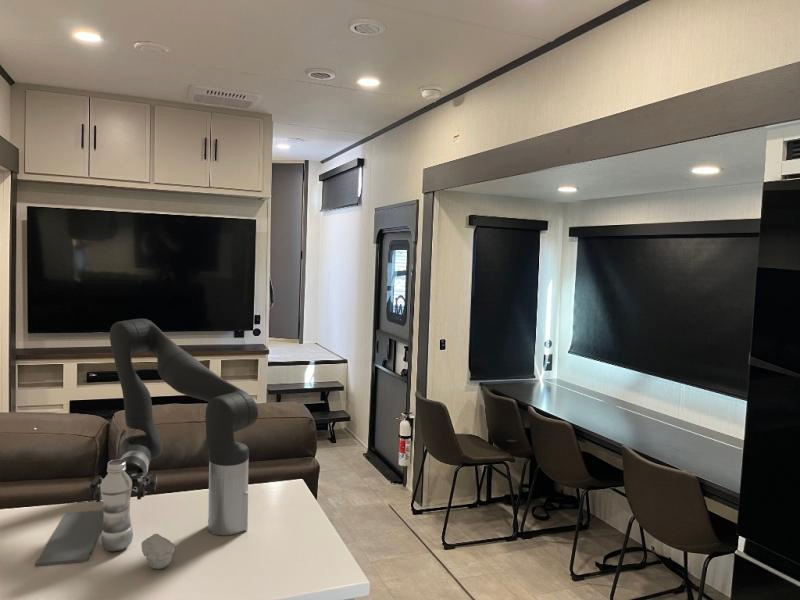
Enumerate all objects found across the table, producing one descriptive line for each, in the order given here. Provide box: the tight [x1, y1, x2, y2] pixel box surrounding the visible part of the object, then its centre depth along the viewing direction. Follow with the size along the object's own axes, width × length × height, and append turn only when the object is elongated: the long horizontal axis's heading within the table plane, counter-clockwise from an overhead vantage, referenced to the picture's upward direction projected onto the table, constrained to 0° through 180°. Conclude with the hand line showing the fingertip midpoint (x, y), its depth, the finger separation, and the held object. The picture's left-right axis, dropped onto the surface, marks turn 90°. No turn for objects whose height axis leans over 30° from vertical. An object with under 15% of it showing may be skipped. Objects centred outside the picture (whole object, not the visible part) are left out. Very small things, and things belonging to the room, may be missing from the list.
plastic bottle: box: [100, 458, 134, 552], centre depth 135 cm, size 6×7×20 cm
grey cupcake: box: [141, 533, 176, 570], centre depth 129 cm, size 6×7×7 cm
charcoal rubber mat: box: [34, 509, 104, 567], centre depth 140 cm, size 10×24×1 cm, turn 15°
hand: (118, 496), depth 137 cm, fingers open, 8 cm apart
